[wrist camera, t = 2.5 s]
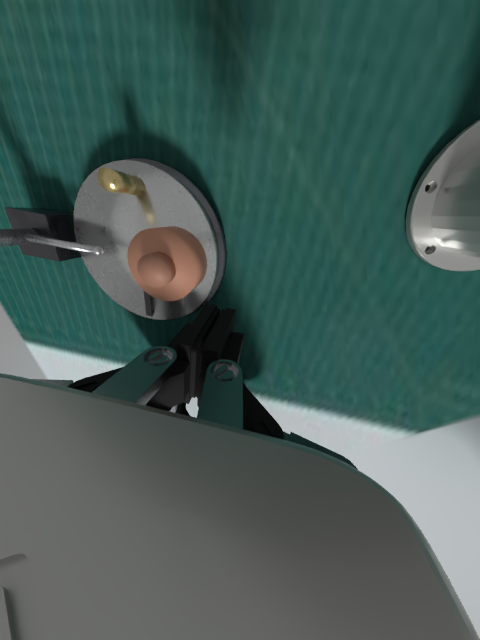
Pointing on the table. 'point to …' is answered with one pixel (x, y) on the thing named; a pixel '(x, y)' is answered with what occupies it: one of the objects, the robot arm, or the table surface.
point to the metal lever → (44, 234)
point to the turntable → (129, 219)
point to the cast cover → (167, 262)
